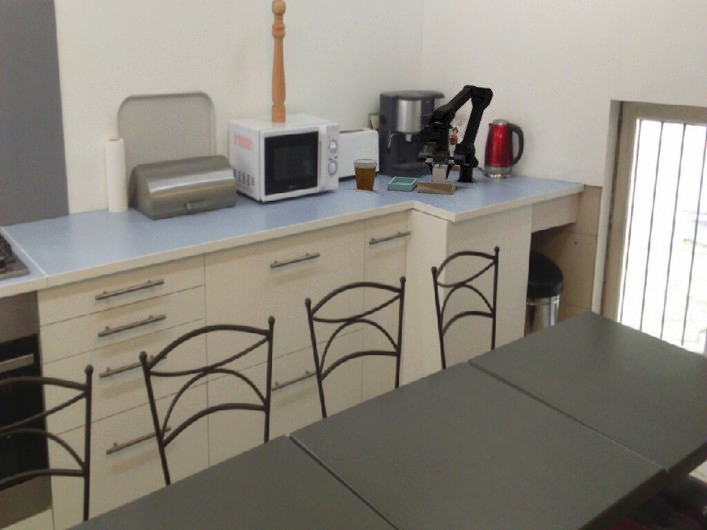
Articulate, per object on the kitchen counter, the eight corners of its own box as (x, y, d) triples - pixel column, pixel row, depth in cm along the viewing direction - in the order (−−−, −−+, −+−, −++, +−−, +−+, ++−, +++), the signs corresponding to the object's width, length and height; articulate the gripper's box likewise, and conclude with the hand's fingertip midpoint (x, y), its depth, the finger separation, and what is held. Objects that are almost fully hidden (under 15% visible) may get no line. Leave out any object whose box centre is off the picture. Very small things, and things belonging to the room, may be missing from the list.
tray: (394, 182, 314) (394, 176, 314) (417, 184, 312) (417, 178, 311) (387, 189, 302) (387, 183, 301) (411, 191, 300) (411, 185, 299)
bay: (421, 186, 309) (422, 176, 307) (455, 188, 305) (455, 178, 304) (417, 192, 299) (417, 182, 298) (451, 194, 296) (452, 184, 294)
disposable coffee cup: (362, 187, 306) (362, 157, 302) (381, 190, 301) (382, 160, 297) (348, 191, 299) (348, 161, 295) (367, 194, 294) (368, 164, 290)
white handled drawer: (435, 183, 314) (436, 160, 311) (447, 184, 313) (448, 161, 310) (431, 188, 306) (432, 164, 303) (444, 188, 304) (445, 165, 301)
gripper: (415, 143, 298) (413, 182, 303) (462, 145, 294) (460, 184, 299) (419, 138, 308) (418, 176, 313) (465, 140, 304) (463, 178, 309)
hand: (440, 179), depth 308 cm, fingers closed on white handled drawer, 5 cm apart
